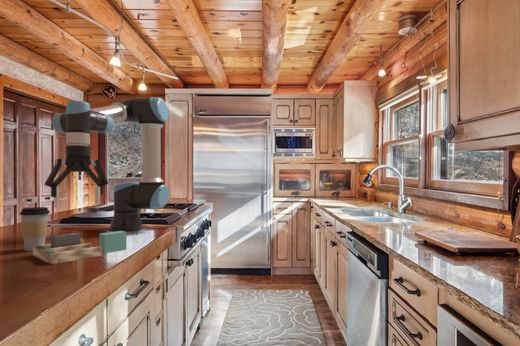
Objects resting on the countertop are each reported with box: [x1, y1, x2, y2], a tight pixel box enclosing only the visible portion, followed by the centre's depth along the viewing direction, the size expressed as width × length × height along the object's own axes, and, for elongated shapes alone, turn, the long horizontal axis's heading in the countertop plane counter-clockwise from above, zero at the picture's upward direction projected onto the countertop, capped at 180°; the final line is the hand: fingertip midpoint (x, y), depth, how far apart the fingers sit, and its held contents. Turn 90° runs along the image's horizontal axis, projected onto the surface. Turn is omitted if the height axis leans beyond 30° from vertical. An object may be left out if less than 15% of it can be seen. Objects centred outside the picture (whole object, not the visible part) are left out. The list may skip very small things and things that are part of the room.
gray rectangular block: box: [50, 232, 81, 248], centre depth 120 cm, size 8×4×6 cm, turn 139°
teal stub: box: [98, 231, 127, 254], centre depth 125 cm, size 8×4×6 cm, turn 139°
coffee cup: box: [18, 206, 51, 252], centre depth 126 cm, size 9×9×15 cm
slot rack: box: [32, 239, 104, 265], centre depth 117 cm, size 16×18×3 cm
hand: (78, 205), depth 122 cm, fingers open, 13 cm apart
